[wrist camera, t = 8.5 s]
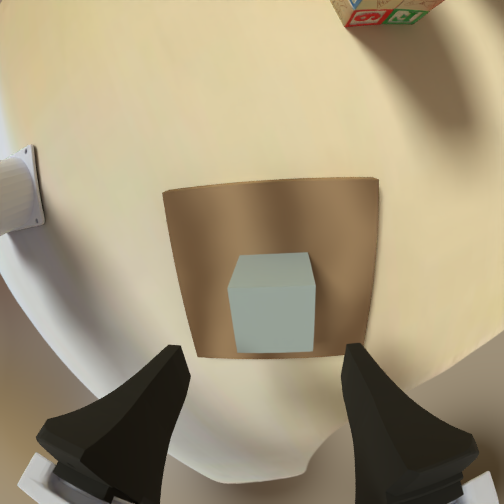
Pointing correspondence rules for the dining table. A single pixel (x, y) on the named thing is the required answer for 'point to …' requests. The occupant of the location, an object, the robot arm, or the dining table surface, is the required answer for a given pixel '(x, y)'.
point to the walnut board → (275, 242)
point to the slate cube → (273, 303)
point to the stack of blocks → (382, 11)
